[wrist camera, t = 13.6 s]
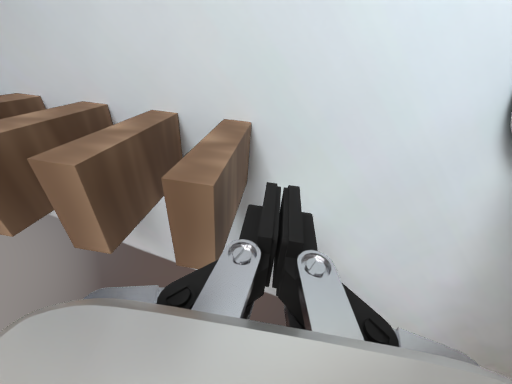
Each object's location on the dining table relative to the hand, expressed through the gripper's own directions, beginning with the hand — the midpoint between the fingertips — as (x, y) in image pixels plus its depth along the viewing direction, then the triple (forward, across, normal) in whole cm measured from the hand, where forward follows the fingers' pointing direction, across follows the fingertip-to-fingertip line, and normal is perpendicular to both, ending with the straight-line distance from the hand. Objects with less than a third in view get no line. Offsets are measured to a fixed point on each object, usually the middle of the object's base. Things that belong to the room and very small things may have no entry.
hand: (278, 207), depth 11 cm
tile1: (+6, +4, 0) cm, 7 cm away
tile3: (+6, +15, 0) cm, 16 cm away
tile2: (+6, +9, 0) cm, 11 cm away
